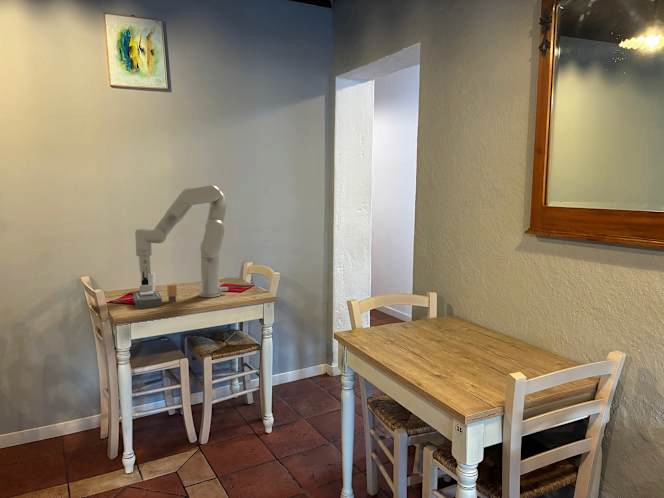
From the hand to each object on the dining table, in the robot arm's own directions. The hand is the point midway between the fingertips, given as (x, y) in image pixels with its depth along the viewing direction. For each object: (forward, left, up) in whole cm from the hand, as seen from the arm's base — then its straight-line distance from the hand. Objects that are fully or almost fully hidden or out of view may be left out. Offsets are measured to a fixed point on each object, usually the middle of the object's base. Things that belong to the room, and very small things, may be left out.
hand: (145, 286), depth 253 cm
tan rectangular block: (-12, +11, -6) cm, 17 cm away
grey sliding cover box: (0, +11, -6) cm, 13 cm away
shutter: (0, +8, -2) cm, 8 cm away
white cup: (-3, -17, -6) cm, 18 cm away
